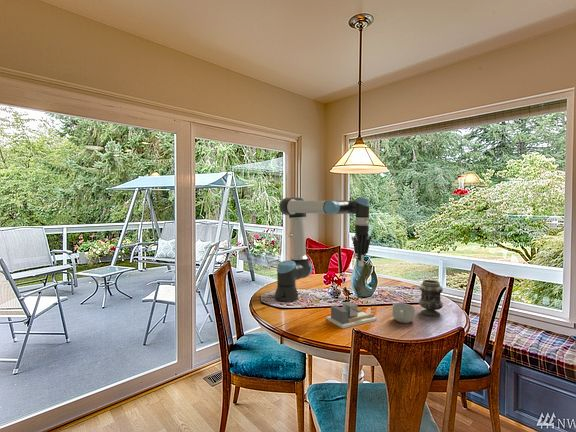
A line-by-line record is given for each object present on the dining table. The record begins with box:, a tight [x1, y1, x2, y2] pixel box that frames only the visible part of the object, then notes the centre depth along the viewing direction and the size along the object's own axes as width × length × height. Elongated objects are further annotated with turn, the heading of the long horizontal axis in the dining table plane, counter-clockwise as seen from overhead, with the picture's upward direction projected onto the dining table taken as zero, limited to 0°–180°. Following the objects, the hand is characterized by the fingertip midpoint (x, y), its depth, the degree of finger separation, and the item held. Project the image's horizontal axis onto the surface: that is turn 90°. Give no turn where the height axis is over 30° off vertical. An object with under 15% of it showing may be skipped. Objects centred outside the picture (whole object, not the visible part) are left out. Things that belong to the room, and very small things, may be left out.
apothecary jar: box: [418, 279, 444, 318], centre depth 169 cm, size 12×12×18 cm
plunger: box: [342, 301, 360, 319], centre depth 158 cm, size 10×5×7 cm, turn 28°
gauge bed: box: [325, 304, 377, 329], centre depth 161 cm, size 14×22×7 cm, turn 118°
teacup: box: [392, 302, 416, 324], centre depth 157 cm, size 14×11×8 cm
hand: (360, 266), depth 175 cm, fingers closed
